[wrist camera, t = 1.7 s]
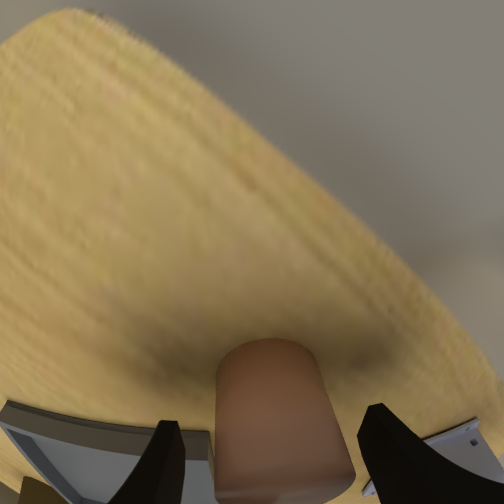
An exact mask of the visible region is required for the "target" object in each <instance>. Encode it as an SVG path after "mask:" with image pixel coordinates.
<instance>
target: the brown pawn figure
mask: <svg viewBox="0 0 504 504" xmlns="http://www.w3.org/2000/svg"><path fill="white" fill-rule="evenodd" d="M18 504H69V503H68V502H67V501H66V500H65V499H64V498H63V497H62V496H61V495H60V494H59V493H58V492H57V491H56V490H55V489H54V488H52V487H50V486H48V485H46V484H44V483H42V482H40V481H38V480H36V479H33V478H30V477H24V478H23V482H22V487H21V491H20V497H19V502H18Z"/></svg>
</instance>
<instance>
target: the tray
mask: <svg viewBox="0 0 504 504" xmlns="http://www.w3.org/2000/svg"><path fill="white" fill-rule="evenodd" d="M0 426H1V428H2V429H3V431H4V432H5V433H6V435H7V436H8V437H9V438H10V440H11V441H12V442H13V444H14V445H15V446H16V447H17V449H18V450H19V451H20V452H21V454H22V455H23V456H24V457H25V458H26V459H27V461H28V462H29V463H30V464H31V465H32V466H33V467H34V469H35V470H36V471H37V472H38V473H39V474H40V475H41V476H42V477H43V478H44V479H45V480H46V481H47V482H48V483H49V484H50V485H51V486H52V487H53V488H54V489H55V490H56V491H57V492H58V493H59V494H60V495H61V496H62V497H63V498H64V499H65V500H66V501H67V502H68V503H69V504H107V503H108V502H109V501H110V499H111V498H112V497H113V496H114V495H115V494H116V492H117V491H118V490H119V489H120V487H121V486H122V485H123V483H124V482H125V480H126V479H127V478H128V476H129V475H130V473H131V472H132V470H133V469H134V467H135V466H136V464H137V462H138V461H139V459H140V457H141V456H142V454H143V452H144V451H145V449H146V447H147V445H148V443H149V442H150V440H151V438H152V436H153V434H154V432H155V429H148V428H138V427H129V426H121V425H114V424H107V423H100V422H94V421H89V420H83V419H78V418H73V417H68V416H64V415H59V414H55V413H51V412H47V411H43V410H39V409H35V408H32V407H28V406H25V405H21V404H18V403H15V402H11V401H8V400H7V402H6V404H5V405H4V407H3V408H2V410H1V412H0ZM180 432H181V435H182V439H183V442H184V446H185V449H186V460H185V478H184V485H183V492H182V499H181V504H219V503H218V502H217V501H216V499H215V497H214V457H213V452H212V447H211V441H210V436H209V431H180Z"/></svg>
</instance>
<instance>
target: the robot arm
mask: <svg viewBox="0 0 504 504" xmlns="http://www.w3.org/2000/svg"><path fill="white" fill-rule="evenodd" d="M479 423H480V420H479V419H478V418H477V419H474V420H472V421H470V422H468V423H466V424H463V425H461V426H459V427H456V428H454V429H452V430H449V431H447V432H444V433H442V434H439V435H437V436H434V437H431V438H429V439H426V440H422V439H420V438H419V437H418V436H417V435H416V434H415V433H414V432H412V431H411V430H410V429H409V428H408V427H407V426H406V425H405V424H404V423H403V422H402V421H401V420H400V419H399V418H397V417H396V416H395V415H394V414H393V413H392V412H391V411H390V410H389V409H388V408H387V407H386V406H385V405H384V404H383V403H379V404H375V405H370V406H368V409H367V411H366V414H365V416H364V419H363V421H362V424H361V426H360V429H359V431H358V434H357V438H358V443H359V447H360V451H361V454H362V457H363V460H364V463H365V465H366V467H367V470H368V472H369V475H370V477H371V481H370V483H369V484H368V485H367V487H366V488H365V490H364V491H363V493H362V495H363V496H364V497H366V496H370V495H374V494H378V497H379V500H380V503H381V504H504V469H503V467H502V466H501V464H500V463H499V461H498V459H497V458H496V456H495V455H494V453H493V452H492V450H491V449H490V447H489V446H488V444H487V443H486V441H485V440H484V438H483V437H482V435H481V434H480V432H479V431H478V430H477V428H476V427H477V426H478V424H479ZM185 460H186V449H185V446H184V442H183V439H182V435H181V432H180V428H179V425H178V421H169V420H161V421H159V423H158V425H157V427H156V429H155V432H154V434H153V436H152V438H151V440H150V442H149V443H148V445H147V447H146V449H145V451H144V452H143V454H142V456H141V457H140V459H139V461H138V462H137V464H136V466H135V467H134V469H133V470H132V472H131V473H130V475H129V476H128V478H127V479H126V480H125V482H124V483H123V485H122V486H121V487H120V489H119V490H118V491H117V492H116V494H115V495H114V496H113V497H112V498H111V499H110V501H109V502H108V503H107V504H181V499H182V492H183V485H184V478H185Z"/></svg>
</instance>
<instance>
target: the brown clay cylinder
mask: <svg viewBox="0 0 504 504" xmlns="http://www.w3.org/2000/svg"><path fill="white" fill-rule="evenodd" d="M355 477H356V473H355V469H354V466H353V464H352V461H351V458H350V455H349V452H348V449H347V446H346V444H345V441H344V438H343V435H342V432H341V430H340V427H339V424H338V421H337V419H336V416H335V413H334V410H333V407H332V405H331V402H330V399H329V396H328V394H327V391H326V388H325V386H324V383H323V380H322V377H321V375H320V372H319V369H318V367H317V364H316V361H315V359H314V357H313V356H312V354H311V353H310V352H309V351H308V350H307V349H306V348H304V347H303V346H302V345H300V344H298V343H295V342H292V341H289V340H285V339H276V338H269V339H260V340H255V341H252V342H248V343H246V344H243V345H241V346H239V347H238V348H236V349H234V350H233V351H231V352H230V353H229V354H228V355H227V356H226V357H225V358H224V359H223V360H222V362H221V363H220V365H219V367H218V370H217V375H216V402H215V452H214V497H215V499H216V501H217V502H218V503H219V504H324V503H326V502H328V501H330V500H332V499H334V498H336V497H337V496H339V495H340V494H342V493H343V492H345V491H346V490H347V489H348V488H349V487H350V486H351V485H352V484H353V482H354V480H355Z"/></svg>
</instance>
